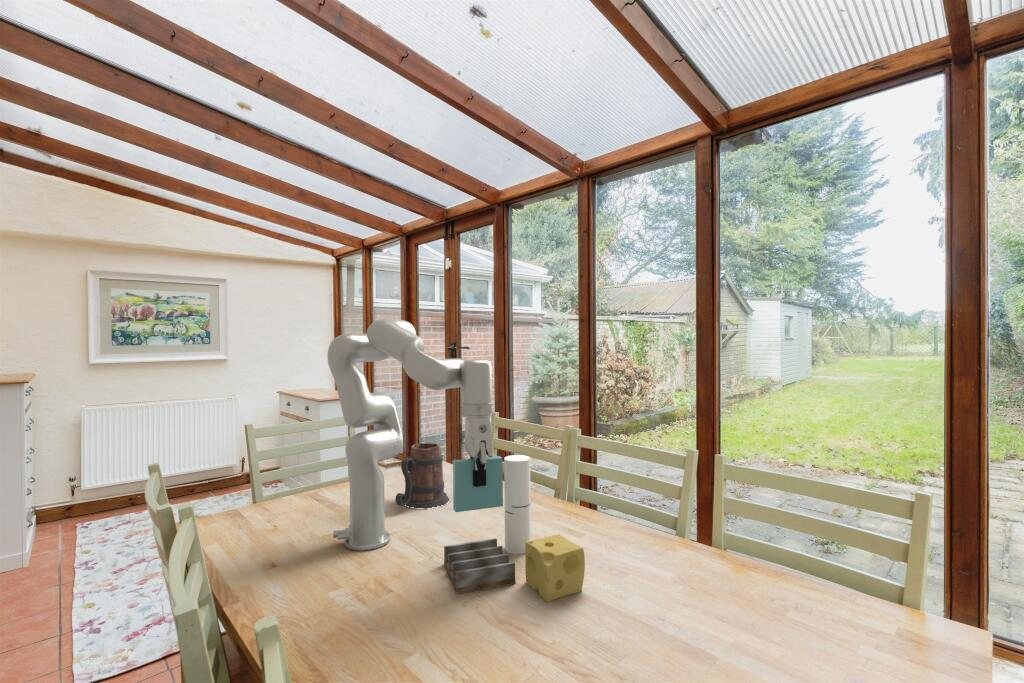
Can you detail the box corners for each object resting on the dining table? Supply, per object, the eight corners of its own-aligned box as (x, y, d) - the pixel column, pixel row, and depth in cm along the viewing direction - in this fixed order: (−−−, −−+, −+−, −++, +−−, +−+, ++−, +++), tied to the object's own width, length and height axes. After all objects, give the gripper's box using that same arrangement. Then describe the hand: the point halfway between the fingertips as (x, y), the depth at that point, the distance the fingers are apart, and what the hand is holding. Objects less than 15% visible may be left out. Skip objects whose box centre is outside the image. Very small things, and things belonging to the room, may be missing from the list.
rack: (457, 594, 110) (457, 573, 110) (444, 564, 125) (443, 545, 125) (515, 583, 115) (515, 563, 115) (496, 555, 129) (495, 538, 129)
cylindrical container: (528, 555, 129) (527, 461, 129) (502, 553, 131) (501, 460, 131) (532, 544, 136) (532, 455, 136) (507, 542, 138) (507, 454, 138)
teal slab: (455, 512, 116) (454, 462, 116) (453, 509, 119) (452, 460, 119) (502, 506, 120) (502, 458, 120) (500, 503, 123) (499, 455, 123)
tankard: (422, 491, 185) (421, 439, 185) (459, 497, 177) (458, 443, 177) (378, 510, 164) (378, 451, 164) (418, 519, 156) (417, 457, 156)
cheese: (546, 603, 106) (546, 557, 106) (523, 581, 116) (522, 539, 116) (585, 591, 111) (585, 548, 111) (559, 571, 120) (559, 531, 120)
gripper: (501, 413, 113) (502, 492, 113) (482, 404, 128) (483, 474, 128) (470, 415, 111) (471, 495, 111) (455, 406, 126) (455, 477, 126)
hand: (477, 483), depth 119 cm, fingers closed on teal slab, 2 cm apart
